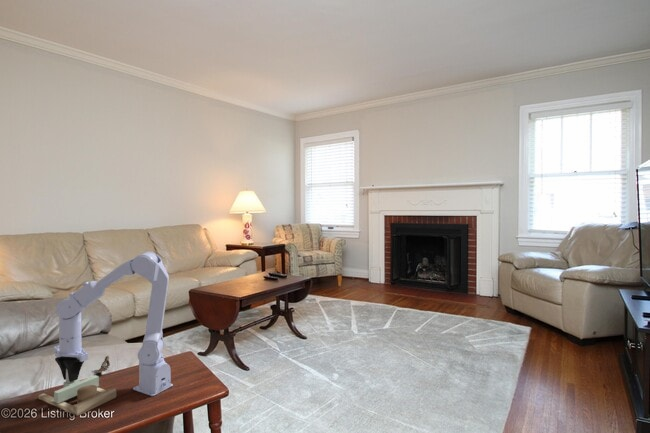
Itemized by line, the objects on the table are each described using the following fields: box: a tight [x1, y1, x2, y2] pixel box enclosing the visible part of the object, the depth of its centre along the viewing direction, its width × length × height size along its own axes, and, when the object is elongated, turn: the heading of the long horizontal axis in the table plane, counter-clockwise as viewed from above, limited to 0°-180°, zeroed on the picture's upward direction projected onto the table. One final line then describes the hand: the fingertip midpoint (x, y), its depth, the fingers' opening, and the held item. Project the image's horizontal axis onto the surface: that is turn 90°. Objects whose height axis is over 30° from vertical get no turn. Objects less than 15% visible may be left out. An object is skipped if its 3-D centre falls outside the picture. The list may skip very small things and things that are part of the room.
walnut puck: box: [76, 385, 98, 404], centre depth 111 cm, size 5×5×4 cm
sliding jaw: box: [53, 369, 100, 403], centre depth 114 cm, size 6×12×7 cm, turn 154°
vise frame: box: [38, 386, 117, 417], centre depth 113 cm, size 20×12×2 cm, turn 64°
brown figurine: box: [95, 355, 111, 377], centre depth 132 cm, size 2×8×4 cm, turn 7°
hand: (70, 379), depth 115 cm, fingers closed on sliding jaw, 2 cm apart
